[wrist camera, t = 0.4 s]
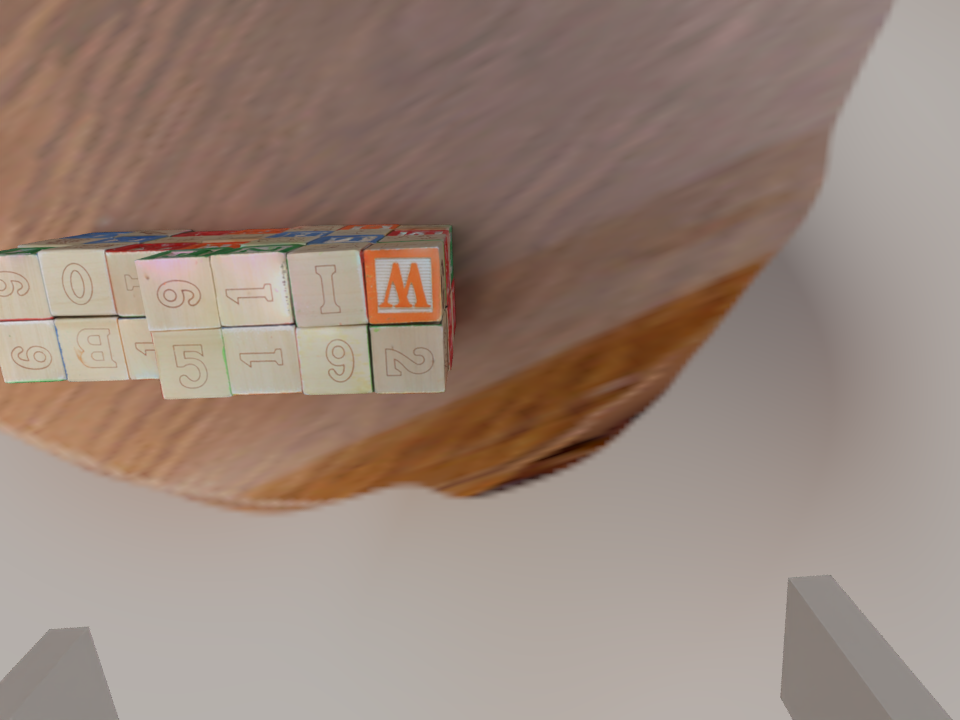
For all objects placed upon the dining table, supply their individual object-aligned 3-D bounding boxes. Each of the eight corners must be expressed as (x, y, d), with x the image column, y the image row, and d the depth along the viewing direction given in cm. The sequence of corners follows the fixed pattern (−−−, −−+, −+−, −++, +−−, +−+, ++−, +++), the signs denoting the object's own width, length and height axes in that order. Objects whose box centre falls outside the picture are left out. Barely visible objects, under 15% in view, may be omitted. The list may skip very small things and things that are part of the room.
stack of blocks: (111, 334, 39) (-52, 407, 27) (90, 231, 37) (-94, 260, 25) (458, 326, 39) (447, 396, 27) (454, 221, 37) (440, 247, 25)
